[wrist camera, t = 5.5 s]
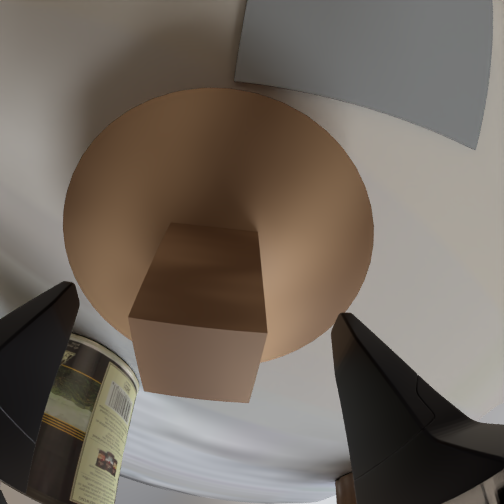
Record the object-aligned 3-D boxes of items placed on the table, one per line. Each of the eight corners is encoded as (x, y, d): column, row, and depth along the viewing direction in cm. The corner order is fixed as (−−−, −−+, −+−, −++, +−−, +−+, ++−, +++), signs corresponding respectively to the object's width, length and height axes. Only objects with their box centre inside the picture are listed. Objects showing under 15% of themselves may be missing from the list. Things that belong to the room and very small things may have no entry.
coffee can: (28, 351, 21) (-22, 466, 9) (68, 313, 19) (-5, 478, 6) (103, 407, 26) (77, 518, 14) (162, 386, 23) (140, 537, 11)
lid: (401, 126, 9) (510, 172, 4) (319, 360, 16) (338, 449, 11) (65, 90, 8) (-47, 113, 3) (96, 336, 15) (62, 420, 10)
